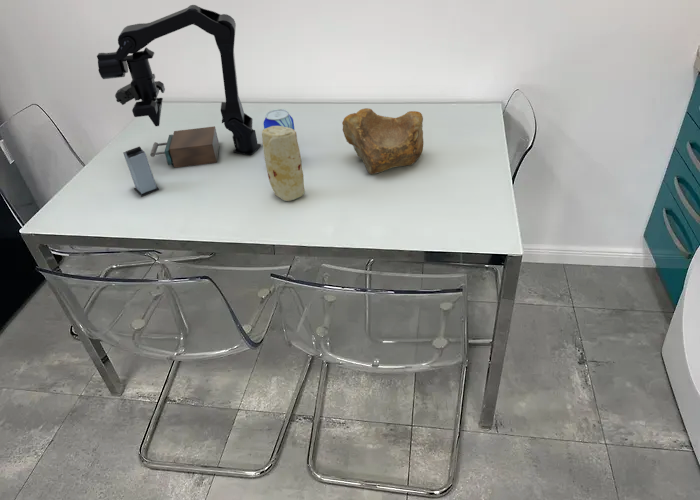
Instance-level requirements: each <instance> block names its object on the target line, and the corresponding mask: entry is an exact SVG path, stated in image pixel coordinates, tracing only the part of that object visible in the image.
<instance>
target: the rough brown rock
mask: <svg viewBox="0 0 700 500" xmlns="http://www.w3.org/2000/svg"><path fill="white" fill-rule="evenodd" d="M423 122H424V116H423V114H422V112H420V111H416V110H410V111H407V112H406V113H405V114H402V115H400V116H397V117H391V116H384V115H380V114H377V113H376V112H375V111H374V110H373V109H372V108H368V107H367V108H361V109H360V110H358V111H357V112H354V113H353V112H352V113H350V114H347V115H346V116H345V117H344V118H343V121H341V123H342V132H343V135H344V138H345V140H346V142H347V143H348V144H349V145H351V146H352V147H353V150H354V151H355V153H356V154H357V156H358V157H359V158H360V159H361V160H362V162H363V165H364V166H365V168H366V171H367V173H368V174H370V175H374V174H379V173H382V172H384V171H387V170H389V169H392V168H397V167H406V166H407V167H408V166H411V165H414V164H415V163H416V162H417V161H418V160H419V158H420V157H421V155H422V154H423V150H424V130H423V126H424V124H423Z"/></svg>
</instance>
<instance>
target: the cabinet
mask: <svg viewBox="0 0 700 500" xmlns="http://www.w3.org/2000/svg"><path fill="white" fill-rule="evenodd" d="M172 135H173V137H172V141H171V144H170V148H169V151H170V154H171V157H172V161H173V164H172V165H173V167H174V168H175V169H176V168H184V167H193V166H199V165H200V166H201V165H207V164H217V163H218V157H219V148H220V141H219V137H218V132H217V128H216V126H207V127H205V126H204V127H198V128H188V129H181V130H174V131H173V134H172Z"/></svg>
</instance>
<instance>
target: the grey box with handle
mask: <svg viewBox="0 0 700 500" xmlns="http://www.w3.org/2000/svg"><path fill="white" fill-rule="evenodd" d="M122 153H123V157H124V160H125V162H126V165H127V168H128V171H129V173H130V177H131V179H132V181H133V185H134V188H133V190H134V191H135V192H136V193H137V194H138V195H139V196H140V197H141V198H142V197H144V196H145V197H146V196H147V195H149V194H152V193H154V192H157V191H159V190H160V187H158V186H157V184H156V181H155V178H154V173H153V171H152V168H151V165H150V163H149V162H150V161H149V160H148V157H147V153H146V152H145V151H144V150H143V149H142V147H141V146H137V147H134V148H130V149H129V150H126V151H123V152H122Z"/></svg>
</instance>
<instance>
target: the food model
mask: <svg viewBox="0 0 700 500" xmlns="http://www.w3.org/2000/svg"><path fill="white" fill-rule="evenodd" d="M294 129H295V128H294ZM294 129H292V128H288V127H283V126H271V127H268V128H265V129H264V128H263V129H262V131H261V139H262V148H263V149H262V150H263V156H264V163H265V168H266V173H267V177H268V180H269V184H270V187H271V189H272V191H273V193H274V195H275V196H276V197H278V198H279V199H281V200H282V201H285V202H292V201H294V200H297V199H299V198H301V197H303V196H304V194H305V192H306V189H305V181H304V179H305V178H304V172H303V171H304V169H303V166H302V165H303V164H302V157H301V151H300V146H299V142H298V136H297V131H296V129H295V130H294Z"/></svg>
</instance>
